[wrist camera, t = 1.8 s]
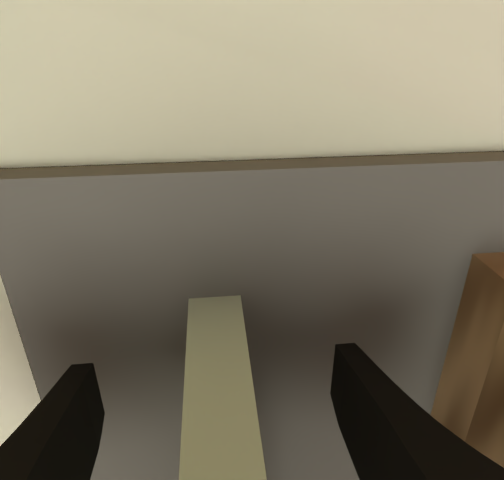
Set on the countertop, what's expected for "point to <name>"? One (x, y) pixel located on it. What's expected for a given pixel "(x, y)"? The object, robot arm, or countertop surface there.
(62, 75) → the countertop surface
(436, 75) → the countertop surface
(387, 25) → the countertop surface
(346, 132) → the countertop surface
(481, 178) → the board
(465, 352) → the oak slotted plate
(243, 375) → the sage notched plate
